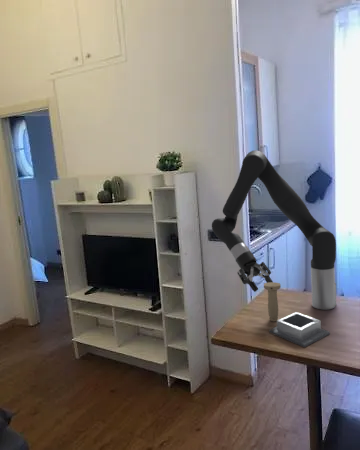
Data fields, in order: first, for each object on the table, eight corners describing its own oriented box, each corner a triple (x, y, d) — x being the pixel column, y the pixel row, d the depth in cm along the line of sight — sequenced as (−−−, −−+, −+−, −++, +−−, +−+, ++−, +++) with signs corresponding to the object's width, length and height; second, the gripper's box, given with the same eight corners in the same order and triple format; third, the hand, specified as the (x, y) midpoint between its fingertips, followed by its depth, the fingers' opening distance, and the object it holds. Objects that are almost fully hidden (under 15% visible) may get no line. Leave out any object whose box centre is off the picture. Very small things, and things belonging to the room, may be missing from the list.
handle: (281, 323, 152) (280, 286, 149) (264, 322, 154) (263, 286, 151) (282, 318, 156) (280, 282, 154) (266, 317, 158) (264, 282, 156)
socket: (294, 320, 153) (293, 308, 152) (329, 334, 140) (329, 321, 139) (269, 332, 145) (268, 319, 145) (304, 347, 132) (303, 333, 131)
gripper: (234, 254, 158) (255, 287, 150) (259, 247, 165) (281, 278, 158) (226, 264, 163) (247, 297, 155) (251, 257, 170) (271, 288, 163)
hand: (264, 287), depth 157 cm, fingers open, 8 cm apart
